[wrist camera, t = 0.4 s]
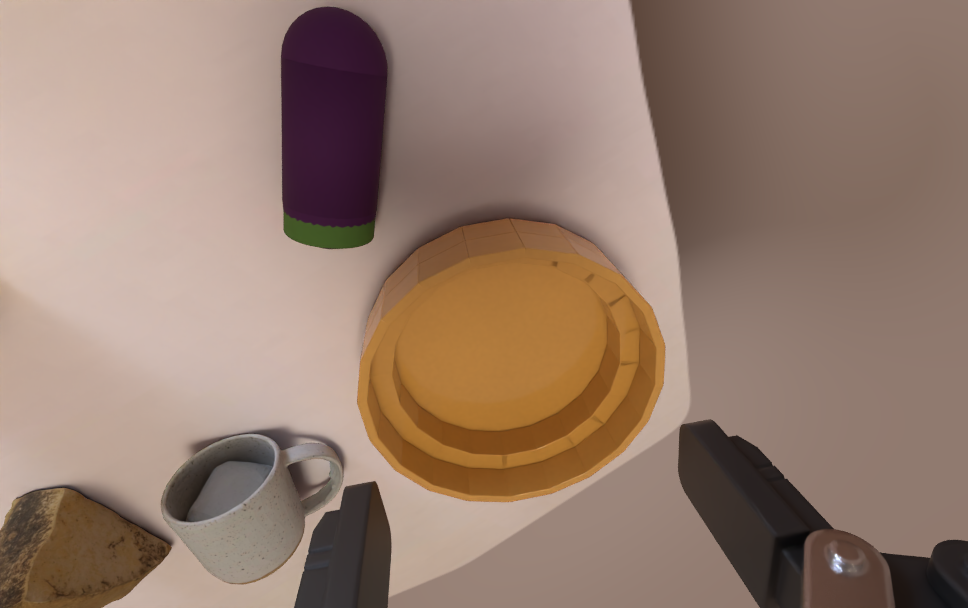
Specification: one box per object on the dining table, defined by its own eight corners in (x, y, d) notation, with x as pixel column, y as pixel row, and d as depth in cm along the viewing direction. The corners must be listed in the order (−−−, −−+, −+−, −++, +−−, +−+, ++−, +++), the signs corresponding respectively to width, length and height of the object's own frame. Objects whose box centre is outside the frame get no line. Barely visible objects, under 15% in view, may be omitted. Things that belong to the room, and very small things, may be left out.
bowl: (378, 195, 30) (369, 228, 24) (664, 235, 33) (711, 270, 28) (359, 436, 38) (349, 498, 33) (589, 447, 42) (614, 505, 36)
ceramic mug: (229, 516, 40) (194, 610, 34) (186, 443, 36) (136, 533, 30) (357, 488, 41) (347, 575, 34) (328, 414, 37) (310, 496, 30)
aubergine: (293, 0, 25) (267, -10, 20) (394, 21, 26) (389, 15, 21) (293, 226, 30) (272, 257, 26) (376, 236, 31) (370, 267, 27)
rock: (203, 570, 40) (129, 503, 34) (99, 687, 34) (-11, 631, 28) (133, 520, 45) (58, 454, 39) (33, 614, 39) (-73, 554, 33)
